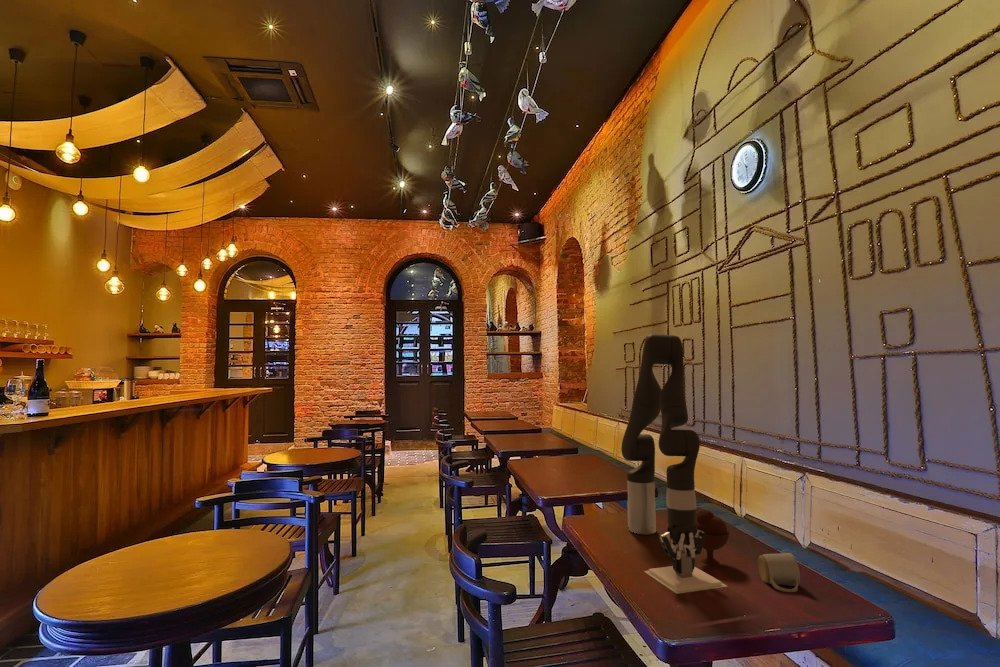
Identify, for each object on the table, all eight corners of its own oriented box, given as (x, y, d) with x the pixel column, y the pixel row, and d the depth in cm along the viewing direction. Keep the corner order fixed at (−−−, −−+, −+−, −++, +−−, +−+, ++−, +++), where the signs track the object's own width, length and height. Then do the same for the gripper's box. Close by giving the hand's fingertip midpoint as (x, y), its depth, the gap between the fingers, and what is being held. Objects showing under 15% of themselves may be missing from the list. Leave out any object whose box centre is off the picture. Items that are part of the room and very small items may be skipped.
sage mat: (643, 573, 139) (643, 571, 139) (690, 567, 143) (690, 565, 143) (676, 596, 125) (676, 593, 125) (727, 588, 129) (727, 586, 129)
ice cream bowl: (688, 567, 143) (686, 513, 144) (693, 554, 153) (691, 504, 154) (729, 574, 138) (726, 517, 139) (731, 560, 148) (729, 508, 149)
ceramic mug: (756, 577, 136) (755, 547, 136) (789, 578, 135) (787, 548, 135) (772, 595, 125) (771, 563, 126) (807, 596, 124) (806, 564, 125)
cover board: (648, 572, 138) (648, 550, 139) (689, 566, 142) (688, 545, 142) (677, 591, 126) (676, 567, 126) (721, 585, 129) (720, 561, 130)
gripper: (694, 499, 141) (697, 564, 139) (650, 503, 137) (652, 569, 136) (713, 506, 134) (715, 574, 132) (666, 510, 130) (669, 580, 128)
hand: (683, 571), depth 134 cm, fingers closed on cover board, 3 cm apart
